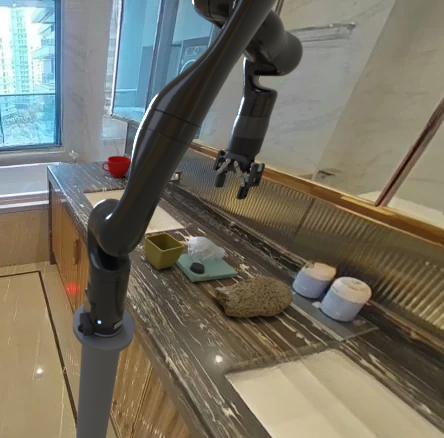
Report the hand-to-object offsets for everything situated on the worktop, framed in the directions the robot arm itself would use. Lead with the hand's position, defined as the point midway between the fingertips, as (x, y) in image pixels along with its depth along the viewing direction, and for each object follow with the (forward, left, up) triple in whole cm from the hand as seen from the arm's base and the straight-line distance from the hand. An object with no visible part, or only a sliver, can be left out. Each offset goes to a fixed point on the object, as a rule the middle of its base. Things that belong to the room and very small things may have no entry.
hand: (228, 192), depth 79 cm
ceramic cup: (+1, +86, -26) cm, 90 cm away
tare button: (-7, -4, -23) cm, 25 cm away
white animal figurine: (+1, +2, -25) cm, 25 cm away
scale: (-1, 0, -26) cm, 26 cm away
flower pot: (-14, +4, -26) cm, 30 cm away
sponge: (+2, -17, -26) cm, 31 cm away
